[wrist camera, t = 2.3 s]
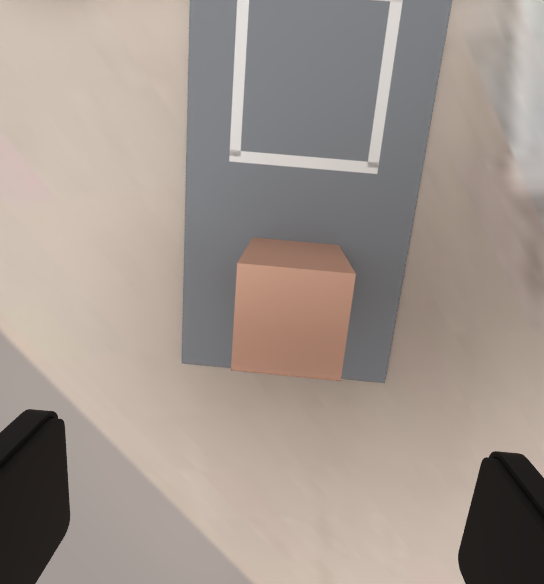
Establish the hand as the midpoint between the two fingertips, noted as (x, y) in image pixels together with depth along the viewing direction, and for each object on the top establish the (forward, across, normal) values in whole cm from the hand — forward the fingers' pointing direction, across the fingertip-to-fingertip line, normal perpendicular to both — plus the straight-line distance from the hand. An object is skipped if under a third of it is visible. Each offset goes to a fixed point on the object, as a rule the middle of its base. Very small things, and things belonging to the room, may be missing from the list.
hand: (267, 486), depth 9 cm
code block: (+16, -1, -1) cm, 17 cm away
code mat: (+17, -1, -6) cm, 18 cm away
